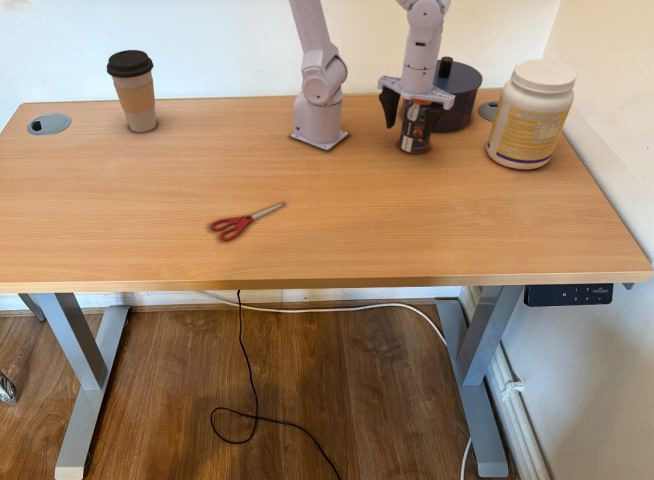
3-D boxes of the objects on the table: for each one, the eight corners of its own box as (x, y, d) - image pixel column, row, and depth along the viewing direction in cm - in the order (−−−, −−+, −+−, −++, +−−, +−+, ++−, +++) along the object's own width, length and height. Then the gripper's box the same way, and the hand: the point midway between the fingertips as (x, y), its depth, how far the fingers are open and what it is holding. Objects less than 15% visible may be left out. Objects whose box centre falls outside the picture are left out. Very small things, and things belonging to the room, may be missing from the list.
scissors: (208, 228, 94) (208, 223, 93) (273, 199, 99) (273, 195, 98) (224, 244, 91) (224, 240, 90) (290, 214, 96) (290, 209, 95)
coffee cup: (143, 111, 123) (128, 44, 112) (173, 122, 119) (161, 54, 108) (112, 128, 117) (94, 61, 107) (142, 141, 113) (127, 72, 103)
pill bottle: (410, 157, 107) (420, 103, 98) (392, 143, 110) (400, 90, 102) (434, 148, 108) (446, 96, 100) (416, 135, 112) (425, 83, 104)
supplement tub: (563, 164, 103) (599, 79, 91) (510, 177, 101) (540, 92, 89) (522, 133, 111) (550, 52, 99) (472, 145, 109) (494, 63, 97)
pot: (394, 125, 115) (400, 87, 109) (410, 95, 124) (416, 58, 118) (463, 138, 111) (473, 99, 105) (474, 105, 120) (484, 68, 114)
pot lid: (396, 91, 109) (400, 68, 106) (414, 60, 119) (417, 39, 116) (475, 103, 105) (481, 81, 101) (486, 70, 114) (492, 49, 111)
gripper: (372, 61, 95) (364, 129, 105) (448, 82, 89) (432, 153, 98) (392, 47, 99) (383, 115, 109) (466, 66, 92) (449, 137, 102)
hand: (407, 132), depth 104 cm, fingers open, 7 cm apart
